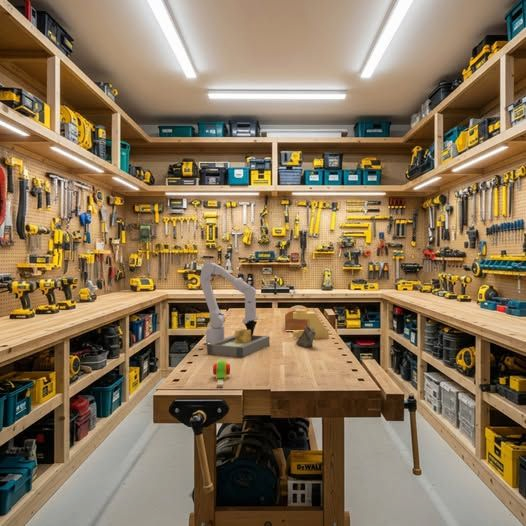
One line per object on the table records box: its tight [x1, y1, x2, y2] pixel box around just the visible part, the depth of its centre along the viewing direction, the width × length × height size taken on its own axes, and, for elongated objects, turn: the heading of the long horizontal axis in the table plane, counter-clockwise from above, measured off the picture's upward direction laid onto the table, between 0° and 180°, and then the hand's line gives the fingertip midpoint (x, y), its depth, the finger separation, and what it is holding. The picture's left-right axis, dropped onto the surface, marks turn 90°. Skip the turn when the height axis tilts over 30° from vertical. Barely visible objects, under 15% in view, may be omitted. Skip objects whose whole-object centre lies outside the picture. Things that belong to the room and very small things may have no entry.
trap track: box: [206, 334, 270, 358], centre depth 201 cm, size 19×31×4 cm, turn 155°
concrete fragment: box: [295, 326, 316, 348], centre depth 209 cm, size 6×19×11 cm, turn 29°
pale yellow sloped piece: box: [292, 309, 329, 339], centre depth 234 cm, size 20×9×16 cm, turn 93°
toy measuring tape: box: [212, 359, 231, 389], centre depth 148 cm, size 6×19×7 cm, turn 3°
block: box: [234, 328, 251, 344], centre depth 204 cm, size 6×6×6 cm
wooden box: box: [284, 305, 310, 330], centre depth 267 cm, size 30×16×14 cm, turn 172°
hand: (250, 335), depth 212 cm, fingers closed
